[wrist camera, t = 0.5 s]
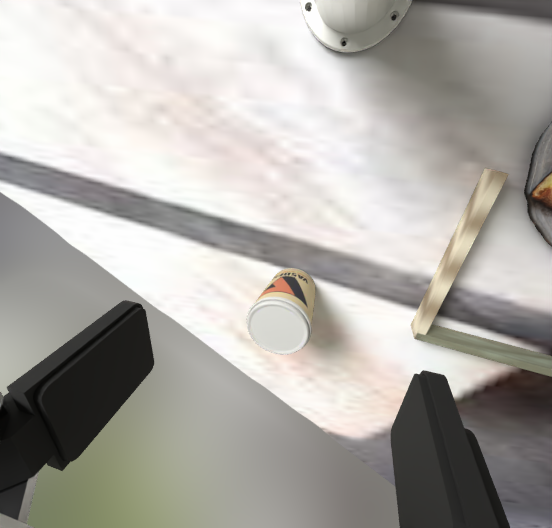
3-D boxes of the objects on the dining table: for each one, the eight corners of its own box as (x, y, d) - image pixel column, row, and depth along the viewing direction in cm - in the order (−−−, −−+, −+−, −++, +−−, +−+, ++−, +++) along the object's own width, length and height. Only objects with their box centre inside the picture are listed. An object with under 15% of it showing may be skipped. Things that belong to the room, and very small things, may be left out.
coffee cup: (320, 264, 46) (309, 304, 36) (320, 312, 50) (311, 360, 40) (265, 262, 49) (240, 298, 38) (270, 307, 53) (248, 352, 42)
